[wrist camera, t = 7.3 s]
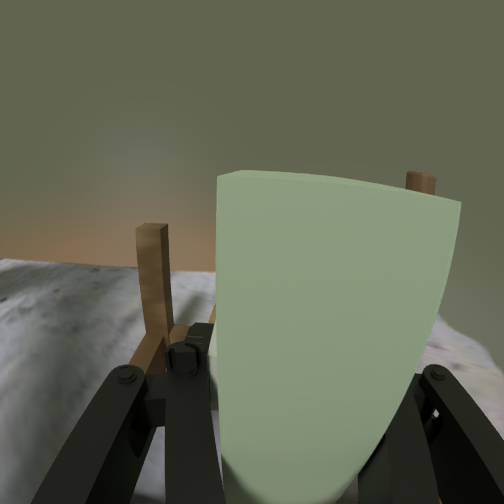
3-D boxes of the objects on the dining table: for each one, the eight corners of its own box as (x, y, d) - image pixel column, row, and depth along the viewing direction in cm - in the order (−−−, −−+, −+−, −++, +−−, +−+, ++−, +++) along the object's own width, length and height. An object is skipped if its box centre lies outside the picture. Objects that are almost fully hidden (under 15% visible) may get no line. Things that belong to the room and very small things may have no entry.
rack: (77, 534, 6) (-69, 377, 3) (156, 347, 25) (144, 223, 22) (441, 529, 6) (584, 377, 3) (362, 353, 25) (388, 234, 22)
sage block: (228, 536, 8) (217, 176, 4) (235, 422, 17) (242, 170, 12) (307, 535, 8) (461, 202, 4) (293, 422, 17) (330, 176, 12)
